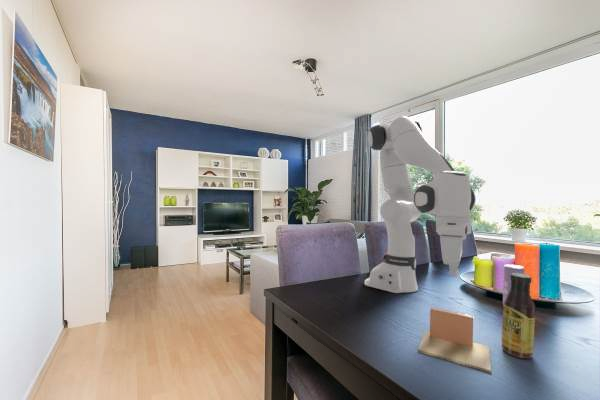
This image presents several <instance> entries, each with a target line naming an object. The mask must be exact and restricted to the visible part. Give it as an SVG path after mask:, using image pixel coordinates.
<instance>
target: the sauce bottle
mask: <svg viewBox="0 0 600 400" xmlns="http://www.w3.org/2000/svg"><path fill="white" fill-rule="evenodd" d="M510 279H511V288H510V292H509V294H508V296H507V298H506V300H505V302H504V305H503V308H502V327H501V330H502V331H501V347H502V350H503V351H504V352H505V353H507V354H508V355H511V356H513V357H515V358H518V359H525V360H526V359H531V358H532V356H533V352H534V345H535V344H534V343H535V342H534V341H535V327H536V326H535V325H536V316H535V315H536V313H535V311H536V304H535V302H534V301H533V299H532V297H531V291H530V290H531V283H532V277H531V275H529V274H520V273H511V277H510Z"/></svg>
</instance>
